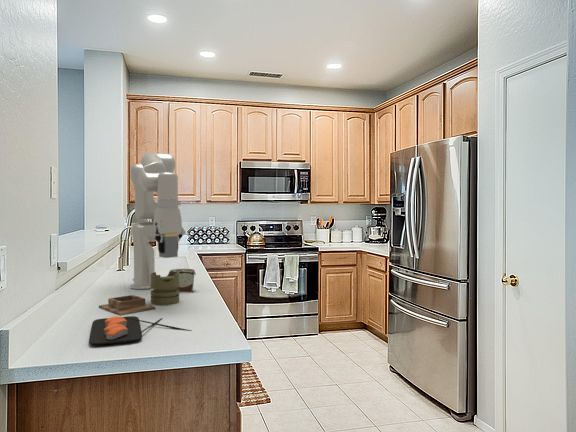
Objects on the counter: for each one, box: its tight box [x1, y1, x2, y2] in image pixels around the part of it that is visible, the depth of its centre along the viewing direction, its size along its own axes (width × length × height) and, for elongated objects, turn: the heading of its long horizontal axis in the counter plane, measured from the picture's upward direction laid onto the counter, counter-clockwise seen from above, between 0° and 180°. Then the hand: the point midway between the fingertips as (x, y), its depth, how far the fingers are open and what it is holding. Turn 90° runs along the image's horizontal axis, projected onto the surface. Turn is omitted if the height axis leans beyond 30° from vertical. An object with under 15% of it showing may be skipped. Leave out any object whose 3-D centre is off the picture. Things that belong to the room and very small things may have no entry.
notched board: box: [98, 294, 156, 316], centre depth 175 cm, size 18×14×4 cm
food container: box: [169, 268, 196, 293], centre depth 210 cm, size 12×6×10 cm, turn 84°
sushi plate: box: [88, 315, 193, 345], centre depth 145 cm, size 29×30×4 cm
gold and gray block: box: [158, 233, 179, 259], centre depth 174 cm, size 5×5×9 cm
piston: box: [150, 270, 180, 306], centre depth 186 cm, size 11×12×11 cm
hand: (168, 251), depth 174 cm, fingers closed on gold and gray block, 5 cm apart
